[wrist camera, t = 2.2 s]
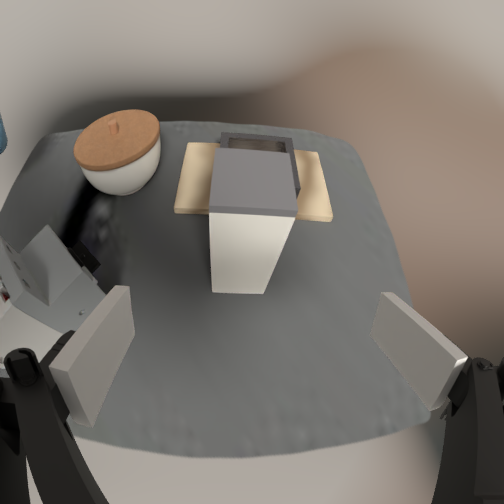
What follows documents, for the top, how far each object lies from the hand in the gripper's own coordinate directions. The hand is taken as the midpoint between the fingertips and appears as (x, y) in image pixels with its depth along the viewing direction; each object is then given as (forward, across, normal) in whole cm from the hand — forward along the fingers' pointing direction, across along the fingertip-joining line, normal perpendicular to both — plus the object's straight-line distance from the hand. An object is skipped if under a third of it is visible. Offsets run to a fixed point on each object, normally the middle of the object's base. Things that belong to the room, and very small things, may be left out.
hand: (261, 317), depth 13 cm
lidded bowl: (+30, -18, +6) cm, 36 cm away
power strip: (+20, 0, -5) cm, 20 cm away
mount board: (+30, +2, +6) cm, 31 cm away
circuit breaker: (+14, -20, -10) cm, 27 cm away
